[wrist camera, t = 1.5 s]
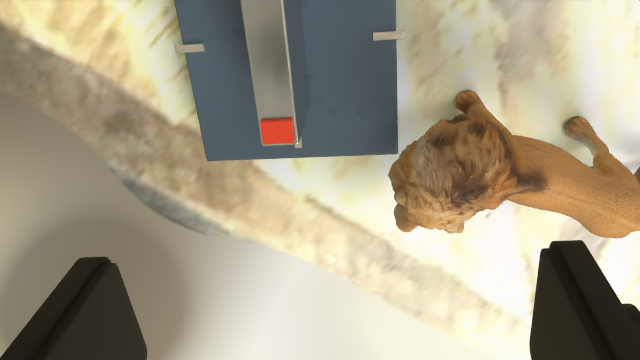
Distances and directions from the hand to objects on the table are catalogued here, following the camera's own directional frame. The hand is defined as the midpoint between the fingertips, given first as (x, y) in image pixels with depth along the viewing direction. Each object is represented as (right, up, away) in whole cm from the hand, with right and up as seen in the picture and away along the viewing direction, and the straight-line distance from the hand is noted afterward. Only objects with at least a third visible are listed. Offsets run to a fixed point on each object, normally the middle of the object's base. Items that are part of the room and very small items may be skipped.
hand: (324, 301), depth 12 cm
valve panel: (-1, +10, +15) cm, 19 cm away
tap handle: (-2, +9, +13) cm, 16 cm away
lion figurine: (+10, +5, +17) cm, 21 cm away
